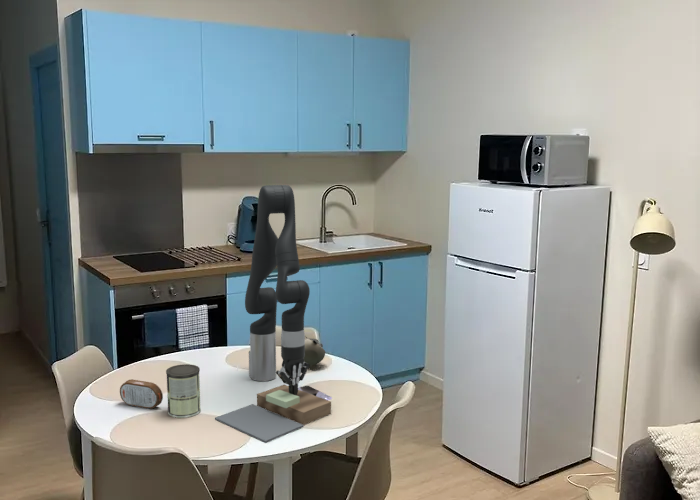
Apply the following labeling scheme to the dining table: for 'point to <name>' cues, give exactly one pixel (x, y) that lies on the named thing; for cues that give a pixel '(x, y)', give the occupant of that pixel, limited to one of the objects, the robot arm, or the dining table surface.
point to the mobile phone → (314, 392)
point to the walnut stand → (297, 406)
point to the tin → (141, 394)
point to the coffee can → (183, 390)
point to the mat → (259, 423)
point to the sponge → (282, 398)
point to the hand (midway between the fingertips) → (293, 394)
